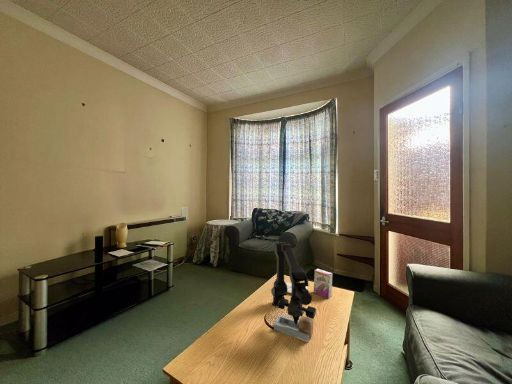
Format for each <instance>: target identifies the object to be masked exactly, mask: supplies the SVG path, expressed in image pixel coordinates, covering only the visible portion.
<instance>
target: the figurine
mask: <svg viewBox="0 0 512 384" xmlns="http://www.w3.org/2000/svg"><path fill="white" fill-rule="evenodd" d="M285 283H286V285H287V289H288V290H287V293H290V294H291V292H292V283H291V281H290V282H285ZM306 289H307V290H309V286H307V287H306Z"/></svg>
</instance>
